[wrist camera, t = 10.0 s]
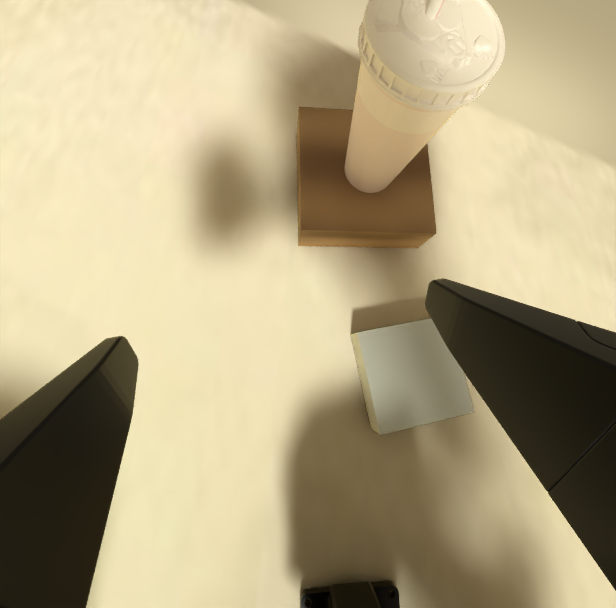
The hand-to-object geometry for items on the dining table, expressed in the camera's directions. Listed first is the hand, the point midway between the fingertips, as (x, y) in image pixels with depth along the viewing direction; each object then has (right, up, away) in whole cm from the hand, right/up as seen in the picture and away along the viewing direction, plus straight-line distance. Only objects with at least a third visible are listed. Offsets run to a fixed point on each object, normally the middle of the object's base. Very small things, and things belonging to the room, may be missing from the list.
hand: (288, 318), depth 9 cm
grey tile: (+8, -5, +14) cm, 17 cm away
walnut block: (+5, +10, +16) cm, 20 cm away
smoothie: (+5, +10, +13) cm, 18 cm away
